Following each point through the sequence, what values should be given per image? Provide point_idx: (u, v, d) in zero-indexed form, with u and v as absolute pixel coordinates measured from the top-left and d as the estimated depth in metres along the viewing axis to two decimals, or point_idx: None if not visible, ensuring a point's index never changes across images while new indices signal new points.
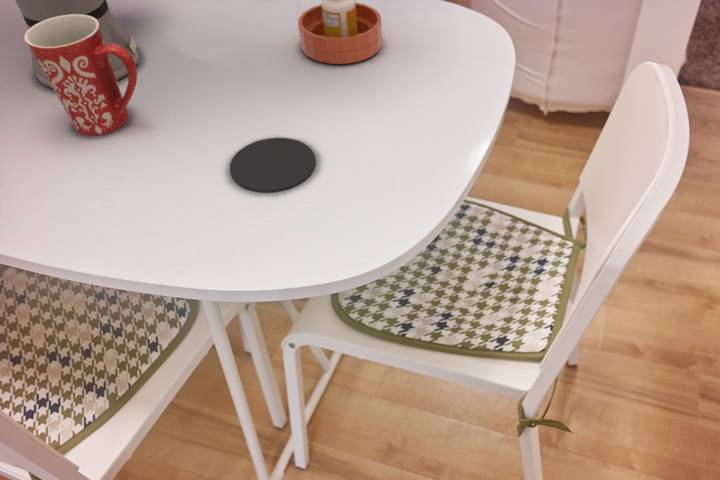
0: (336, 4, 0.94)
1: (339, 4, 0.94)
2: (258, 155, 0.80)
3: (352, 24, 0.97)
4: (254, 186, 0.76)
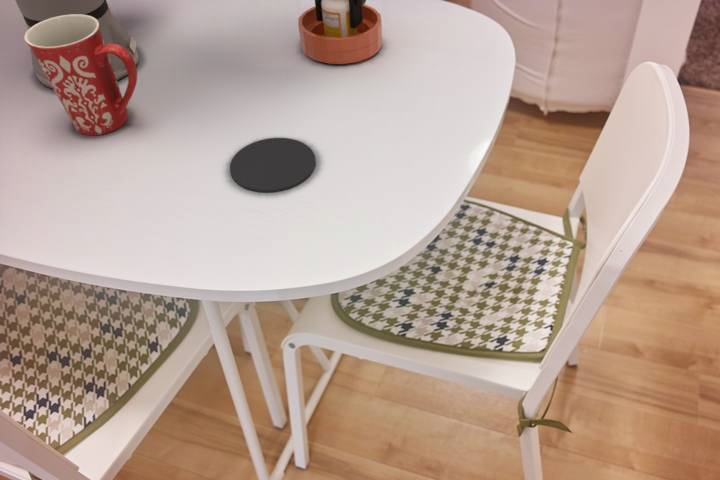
0: (336, 4, 0.94)
1: (339, 4, 0.94)
2: (258, 155, 0.80)
3: None
4: (254, 186, 0.76)
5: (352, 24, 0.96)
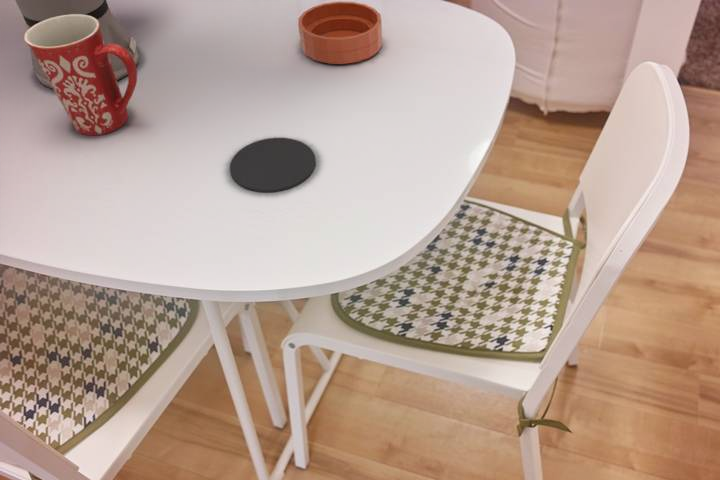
0: None
1: None
2: (258, 155, 0.80)
3: None
4: (254, 186, 0.76)
5: None
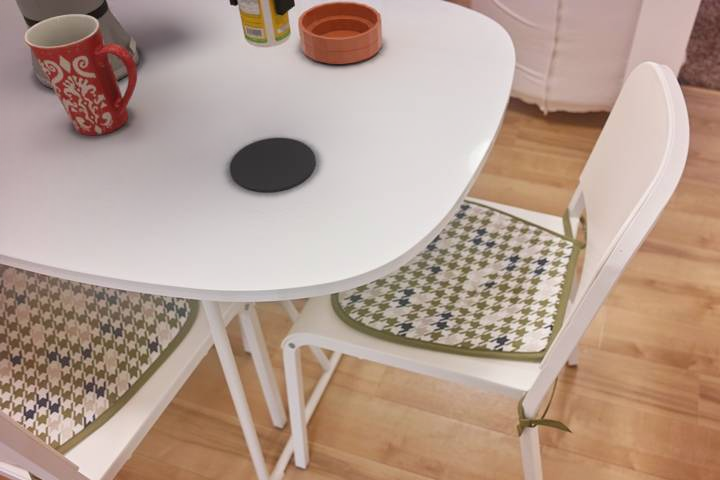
0: None
1: None
2: (258, 155, 0.80)
3: None
4: (254, 186, 0.76)
5: (278, 9, 0.67)
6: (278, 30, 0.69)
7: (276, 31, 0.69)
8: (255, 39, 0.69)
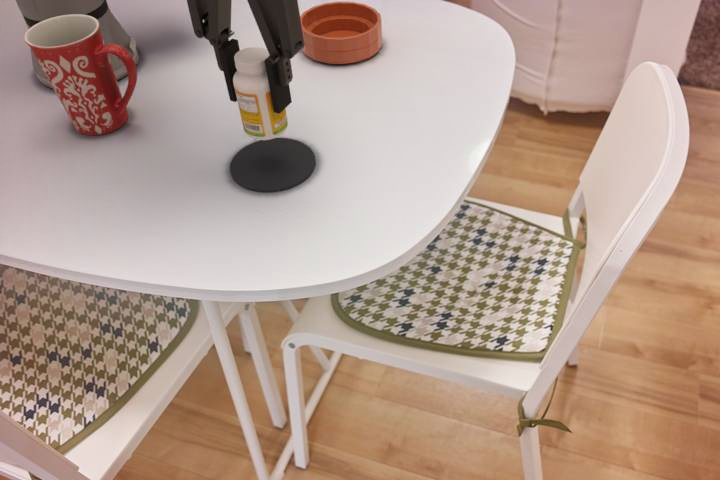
0: (251, 83, 0.68)
1: (256, 83, 0.68)
2: (258, 155, 0.80)
3: None
4: (254, 186, 0.76)
5: (275, 108, 0.70)
6: (275, 125, 0.73)
7: (273, 126, 0.72)
8: (253, 133, 0.73)
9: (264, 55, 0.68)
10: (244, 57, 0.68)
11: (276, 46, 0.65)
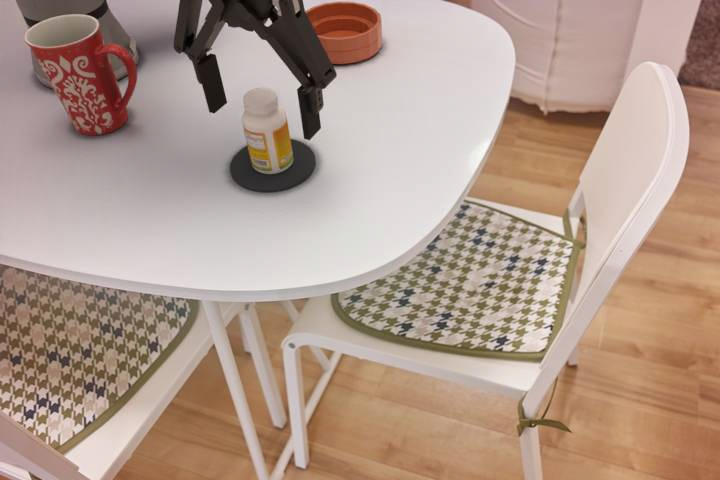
0: (259, 122, 0.72)
1: (264, 123, 0.72)
2: None
3: (283, 144, 0.75)
4: (254, 186, 0.76)
5: (306, 135, 0.71)
6: (282, 160, 0.76)
7: (279, 161, 0.76)
8: (261, 168, 0.77)
9: (271, 96, 0.72)
10: (253, 98, 0.72)
11: (305, 75, 0.66)
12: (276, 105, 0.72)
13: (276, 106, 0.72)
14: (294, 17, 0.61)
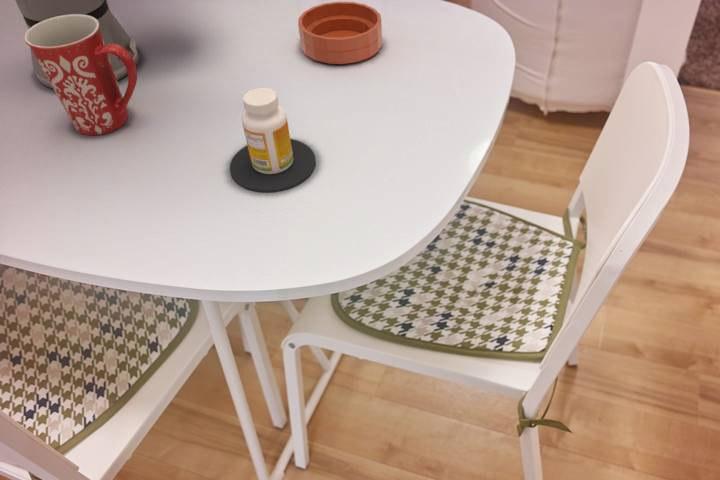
0: (259, 122, 0.72)
1: (264, 123, 0.72)
2: None
3: (283, 144, 0.75)
4: (254, 186, 0.76)
5: None
6: (282, 160, 0.76)
7: (279, 161, 0.76)
8: (261, 168, 0.77)
9: (271, 96, 0.72)
10: (253, 98, 0.72)
11: None
12: (276, 105, 0.72)
13: (276, 106, 0.72)
14: None
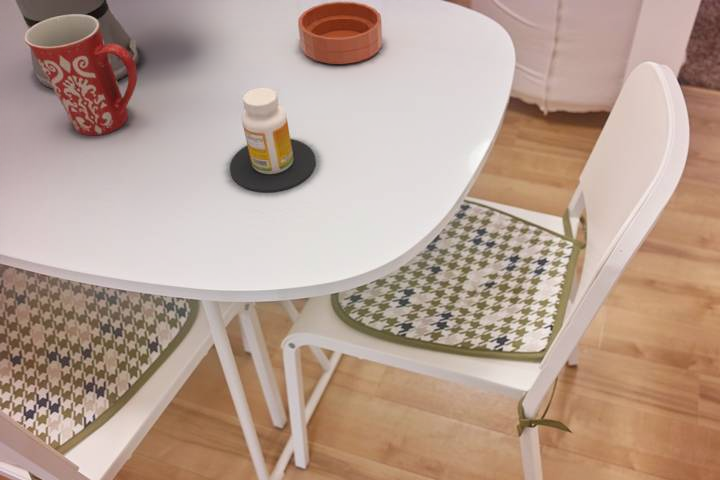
0: (259, 122, 0.72)
1: (264, 123, 0.72)
2: None
3: (283, 144, 0.75)
4: (254, 186, 0.76)
5: None
6: (282, 160, 0.76)
7: (279, 161, 0.76)
8: (261, 168, 0.77)
9: (271, 96, 0.72)
10: (253, 98, 0.72)
11: None
12: (276, 105, 0.72)
13: (276, 106, 0.72)
14: None
